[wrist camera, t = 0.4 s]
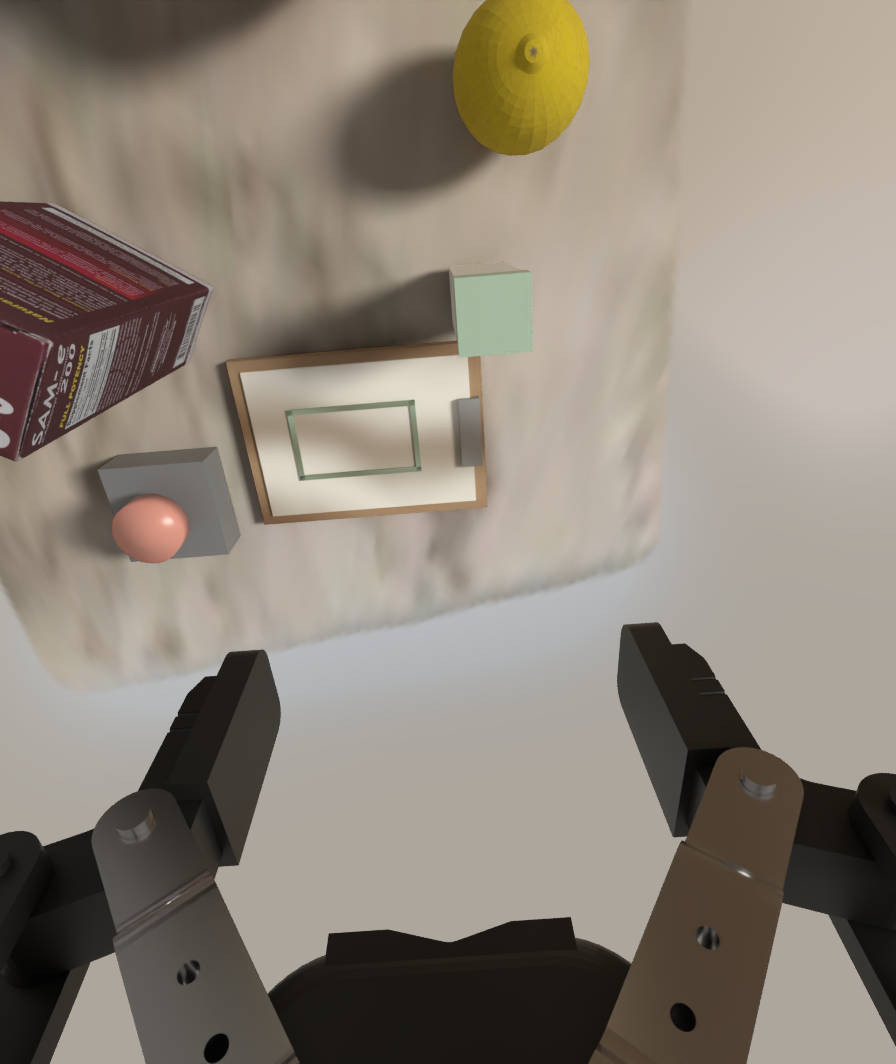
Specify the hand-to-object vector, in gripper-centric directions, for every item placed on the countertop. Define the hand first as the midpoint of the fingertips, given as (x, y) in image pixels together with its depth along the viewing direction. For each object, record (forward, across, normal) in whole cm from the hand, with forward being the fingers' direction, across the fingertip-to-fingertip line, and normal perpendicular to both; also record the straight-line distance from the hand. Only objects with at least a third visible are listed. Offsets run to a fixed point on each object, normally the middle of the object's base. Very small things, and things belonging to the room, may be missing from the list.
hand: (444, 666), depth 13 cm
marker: (+24, -3, -5) cm, 25 cm away
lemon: (+24, -5, -14) cm, 28 cm away
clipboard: (+24, +4, +2) cm, 24 cm away
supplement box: (+24, +16, -7) cm, 30 cm away
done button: (+20, +16, +5) cm, 26 cm away
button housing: (+24, +16, +5) cm, 29 cm away
